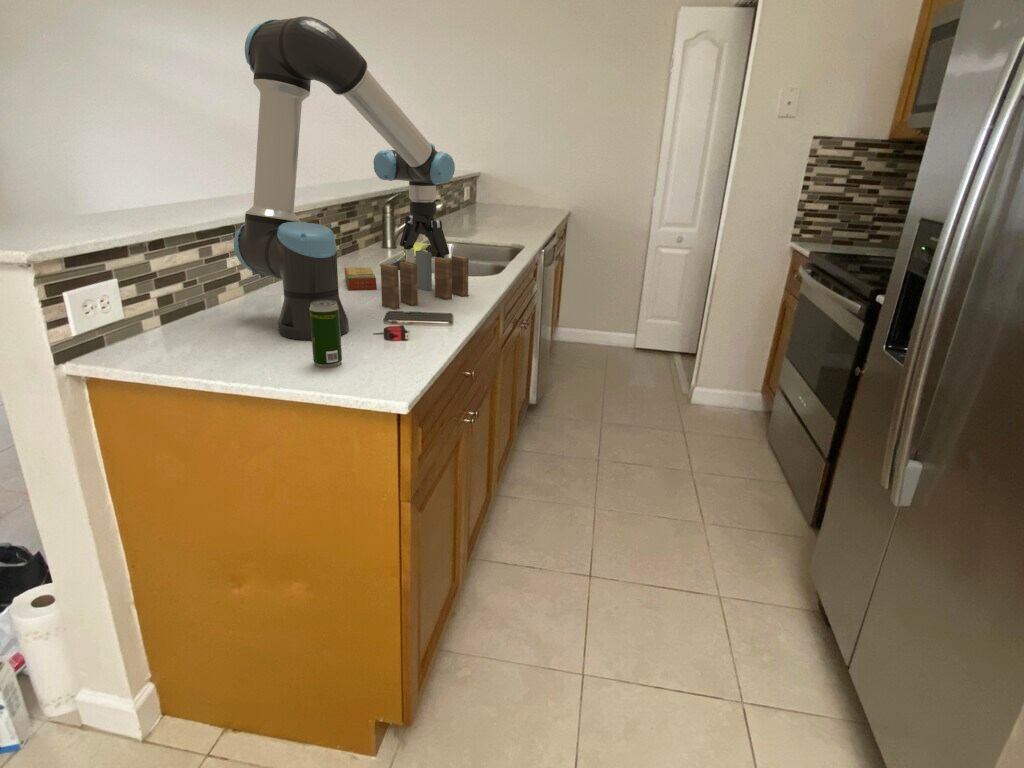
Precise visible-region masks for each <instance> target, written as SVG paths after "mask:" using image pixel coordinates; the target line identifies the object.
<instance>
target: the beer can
mask: <svg viewBox="0 0 1024 768" xmlns="http://www.w3.org/2000/svg"><path fill="white" fill-rule="evenodd" d="M309 312H310V324H311V337H312V340H311V348H312V360H313V363H314V365H315V366H316V367H317V368H325V369H327V368H329V369H330V368H335V367H338V366H340V365H341V363H342V361H343V353H342V352H343V351H342V350H343V349H342V335H341V334H340V317H339V307H338V306H337V302H336V301H331V300H319V301H313V302H311V303H310V308H309Z"/></svg>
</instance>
